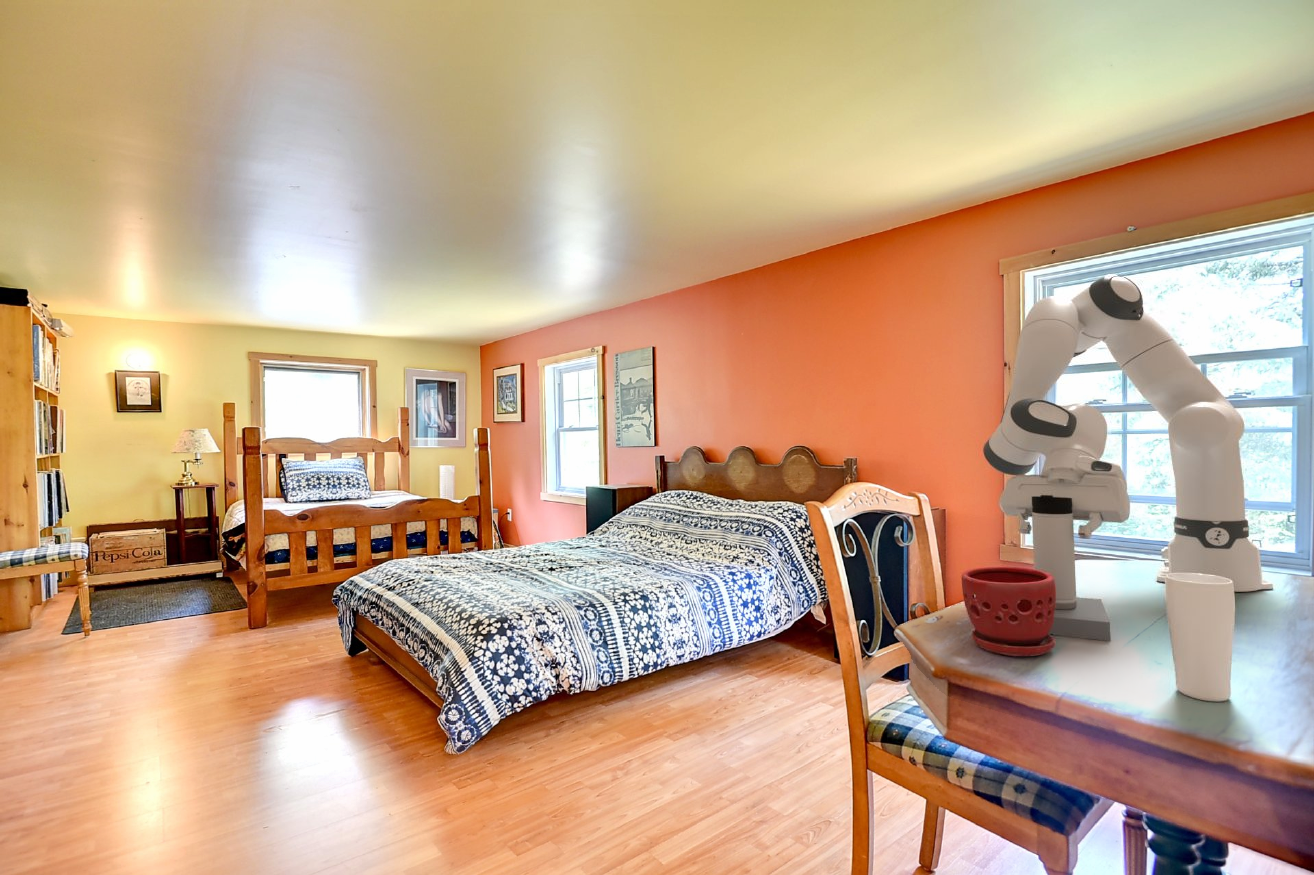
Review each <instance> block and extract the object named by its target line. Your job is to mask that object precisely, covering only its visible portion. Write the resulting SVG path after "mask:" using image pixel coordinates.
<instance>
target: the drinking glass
mask: <svg viewBox="0 0 1314 875" xmlns="http://www.w3.org/2000/svg"><path fill="white" fill-rule="evenodd" d="M1164 594H1165V595H1164V598H1165V609H1166V610H1165V612H1166V618H1167V622H1168V623H1167V624H1168V630H1169V638H1170V644H1171V651H1172V657H1173V666H1174V676H1175V678H1174V679H1175V686H1176V689H1177V690H1178V691H1179V692H1180V693H1181V694H1183V695H1184V696H1187V697H1189V698H1193V699H1196V700H1201V701H1206V702H1215V703H1216V702H1217V703H1218V702H1224V701H1227V700H1229V699H1230V698H1231V696H1232V692H1231V691H1232V688H1231V678H1232V665H1233V664H1232V663H1233V662H1232V661H1233V648H1234V635H1235V622H1236V621H1235V620H1236V601H1235V600H1236V599H1235V591H1234V588H1233V581H1232V580H1230V579H1228V578H1224V577H1220V576H1215V575H1208V574H1199V573H1171V574H1167V575H1166V576H1165V582H1164Z"/></svg>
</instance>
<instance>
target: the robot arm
mask: <svg viewBox="0 0 1314 875" xmlns="http://www.w3.org/2000/svg"><path fill="white" fill-rule="evenodd" d="M1143 305H1144V300H1143V295H1142V292H1141V290H1140V288H1139V287H1138V286H1137V284H1136V283H1135V282H1134V281H1132V280H1131V279H1129V278H1127V277H1126V276H1122V275H1118V274H1107V275H1104V276H1102V277H1101V278H1099V279H1097V280H1095V281H1093V282H1092V283H1091V284H1090V285H1089V287H1087V288H1086V289H1083V291H1081V292H1080V293H1077V295H1075V296H1074V297H1073V298H1072V299H1071V300H1070V299H1069V298H1067V297H1063V296H1055V295H1053V296H1052V295H1051V296H1047V297H1044V298H1041V299H1040V300H1038V301H1036V302H1035V303H1034V304H1033V305H1032V307H1031V308H1030V310H1029V311H1028V314H1027V315H1026V318H1025V320H1024V321H1023V324H1022V327H1021V329H1020V334H1019V336H1018V342H1017V348H1016V353H1015V361H1014V366H1013V371H1012V372H1013V373H1012V379H1011V384H1010V389H1009V392H1008V396H1007V400H1006V403H1005V407H1004V411H1003V413H1002V416H1001V420H1000V423H999V425H998V426H997V428H996V429H995V431H994V432H993V433H992V435H991V436H990V437H989V438H988V440H987V441H986V442H985V443H984V445H983V448H982V452H983V455H984V458H985V460H986V461H987V463H988V464H989V465H990V466H991V467H992V468H993V469H995V470H996V471H998V472H999V473H1002V474H1005V475H1010V476H1012V477H1010V478H1008V479H1007V481H1006V483H1005V487H1004V489H1003V491H1002V493H1001V495H1000V497H999V500H998V505H999V508H1000V509H1001V511H1002V512H1003V513H1004V515H1006V516H1008V517H1018V520H1019V526H1018V530H1019V532H1020V534H1022V535H1030V534H1031V531H1032V530H1033V528H1032V524H1031V522H1030V521H1028V520H1029V518H1032V516H1033V515H1032V508H1033V507H1032V496H1039V497H1041V495H1053V497H1065V498H1072V511H1073V516H1072V517H1073V521H1084V522H1085V521H1088V522H1087V523H1086V524H1085V525H1084V524H1083V525H1081V524H1079V527H1078V531H1077V533H1078V534H1077V535H1078V536H1079V539H1083V540H1091V537H1092V533H1094V532H1095V531H1096V530H1098V528H1100V527H1101V526H1102V523H1103V522H1104V523H1115V524H1116V523H1118V524H1121V523H1122V524H1123V523H1124V522H1126V521H1128V520H1129V517H1130V513H1131V502H1130V501H1131V500H1130V496H1129V494H1128V493H1129V492H1128V484H1127V479H1126V476H1125V472H1123V470H1122V468H1121V466H1120V465H1119V464H1117V463H1112V462H1109V461H1104V460H1100V459H1101V458H1102V456H1103V455H1104V452H1105V448H1106V445H1107V439H1108V438H1107V437H1108V425H1107V420H1106V418H1105V416H1104V414H1103V413H1102V412H1101V411H1100V410H1099V409H1097V408H1096V407H1095V406H1092V405H1089V404H1084V403H1072V404H1069V405H1059V404H1056V403H1054V402H1051V401H1048V400H1045V397H1046V396H1047V394H1048V393H1049V391H1050V390H1051V389H1052V387H1053V386H1054V385H1055V384H1056V382H1057V381H1058V380H1059V379H1060V378H1061V376H1062V375H1063V374H1064V372H1066V369H1067V368H1068V367H1069V365H1070V364H1071V362H1072V360H1073V358H1076V357H1078V356H1080V355H1082V354H1084V353H1085V352H1087V350H1088V349H1090V348H1092V347H1094V346H1095V345H1097V344H1098V343H1100V342H1103V343H1105V345H1106V346H1107V349H1108V350H1109V351H1108V352H1110V354H1111V355H1112V357H1113V359H1114V361H1115V362H1116V363H1117V364H1118V366H1119V368H1120V369H1121V371H1123V373H1124V374H1125V375H1126V376H1127V378H1128V379H1129V381H1131V383H1132V384H1133V385H1134V387H1135V388H1136V390H1138V392H1139V393H1140V394H1141V396H1142V397H1143V398H1144V399H1145V400H1146V401H1147V402H1148V403H1149V404H1150V405H1151V406H1152V407H1153V408H1154V409H1155V410H1156V412H1157V413H1158V414H1159V415H1161V417H1162V418H1163V419H1164V420H1165V421H1166V423H1167V424H1168V426H1167V428H1168V440H1169V449H1170V456H1171V463H1172V470H1173V475H1174V483H1175V484H1174V485H1175V486H1174V487H1175V505H1176V506H1175V508H1176V509H1175V510H1176V516H1174V522H1173V533H1174V534H1175V535H1174V537H1173V539H1172V540H1170V541H1169V543H1167V546H1166V547H1165V546H1164V548H1161V551H1160V552H1161V559H1162V560H1164V563H1163V565H1162V566H1161V567H1160V568H1159V571H1158V572H1157V576H1156V581H1158V582H1162V583H1165V576H1166V575H1167V574H1171V573H1199V574H1208V575H1215V576H1220V577H1224V578H1228V579H1230V580H1232V581H1233V588H1234V592H1242V593H1243V592H1253V591H1258V590H1272V589H1274V586H1273V583H1272V582H1270V581H1267V580H1264V579H1263V574H1262V573H1263V572H1262V564H1261V557H1260V556H1261V554H1260V548H1259V547H1258V546H1256V545H1255V544H1254V543H1252V542H1251V541H1250V540H1249V539H1248V537H1250V525H1249V520H1247V519H1246V512H1245V511H1246V505H1245V504H1246V502H1245V501H1246V500H1245V480H1244V476H1243V469H1242V460H1241V450H1240V440H1241V439H1242V437H1243V435H1244V432H1245V422H1244V419H1243V417H1242V415H1241V414H1240V413H1239V412H1238V411H1237V410H1236V408H1235V407H1234V406H1233V404H1231V402H1230V401H1229V400H1228V399H1227V398H1226V397H1225V396H1224V394H1222V392H1221V391H1220V390H1219V389H1218V388H1217V387H1216V386H1215V384H1213V382H1212V381H1211V380H1209V378H1208V377H1207V376H1206V375H1205V374H1204V373H1203V372H1202V371H1201V370H1200V369H1199V367H1198V366H1197V365H1196V364H1195V362H1193V361H1192V359H1191V358H1190V357H1189V356H1188V354H1187V353H1186V352H1185V351H1184V350H1183V348H1182V347H1181V346H1180V345H1179V343H1178V342H1177V341H1176V340H1175V339H1174V337H1173V336H1172V335H1171V334H1170V333H1169V332H1168V331H1167V330H1166V329H1165V328H1164V327H1163V326H1162V325H1161V324H1160V323H1159V322H1158V321H1156V320H1155V319H1154V318H1153V317H1151V316H1150V315H1149V314H1148V313H1146V312H1145V311H1144V306H1143ZM1042 455H1044V457H1045V460H1044V463H1043V465H1042V470H1041V473H1040V474H1029V473H1030V472H1031V470H1032V469H1033V468H1034V466H1035V465H1036V464H1037V463H1038V462H1037V461H1038V460H1039V458H1041V456H1042Z"/></svg>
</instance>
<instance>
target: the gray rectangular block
mask: <svg viewBox="0 0 1314 875" xmlns="http://www.w3.org/2000/svg"><path fill="white" fill-rule="evenodd" d="M1019 602H1020V601H1019ZM1019 602H1018V603H1019ZM1076 603H1077V606H1076V608H1074V609H1069V610H1058V609H1055V611H1054V621H1053V624H1052V627H1051V629H1050V631H1049V633H1048V634H1049V635H1051V634H1053V635H1054V636H1063V637H1070V638H1071V637H1072V638H1078V639H1079V638H1080V639H1089V640H1090V639H1091V640H1099V641H1107V642H1108V641H1109V642H1111V641H1112V640H1111V621H1110V619H1109V616H1108V614H1107V611H1106V608H1105V605H1104V603H1103V601H1102V598H1091V597H1089V598H1088V597H1078V596H1076ZM1053 635H1052V636H1053Z"/></svg>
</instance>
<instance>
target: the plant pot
mask: <svg viewBox="0 0 1314 875" xmlns="http://www.w3.org/2000/svg"><path fill="white" fill-rule="evenodd" d="M960 578H961V589H962V596H963V602H964V606H965V610H966V613H967V615H968V617H969V620H970V623H971V625H972V626H973V628H974V630H973V631H972V632H971V638H972V639H973V640H972V641H974V642H975V644H977V645H978V646H979V647H980V648H983V649H984V650H986V651H989V652H992V653H995V654H998V655H999V654H1000V655H1005V656H1008V657H1013V658H1014V657H1036V656H1040V655H1044V654H1046V653H1049V652H1050V651H1051V650H1052V649H1053V648H1054V646H1055V645H1056V639H1055V637H1054V636H1053V635H1051V634H1048V633H1049V631H1050V629H1051V627H1052V624H1053V621H1054V611H1055V602H1056V588H1055V581H1054V577H1053V576H1052V575H1051V574H1049V573H1047V572H1044V571H1040V570H1034V568H1027V567H1017V566H1014V567H1013V566H992V567H977V568H973V569H968V570H966V571H964V572H961V577H960ZM1019 601H1020V602H1019ZM1018 602H1019V603H1018Z"/></svg>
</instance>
